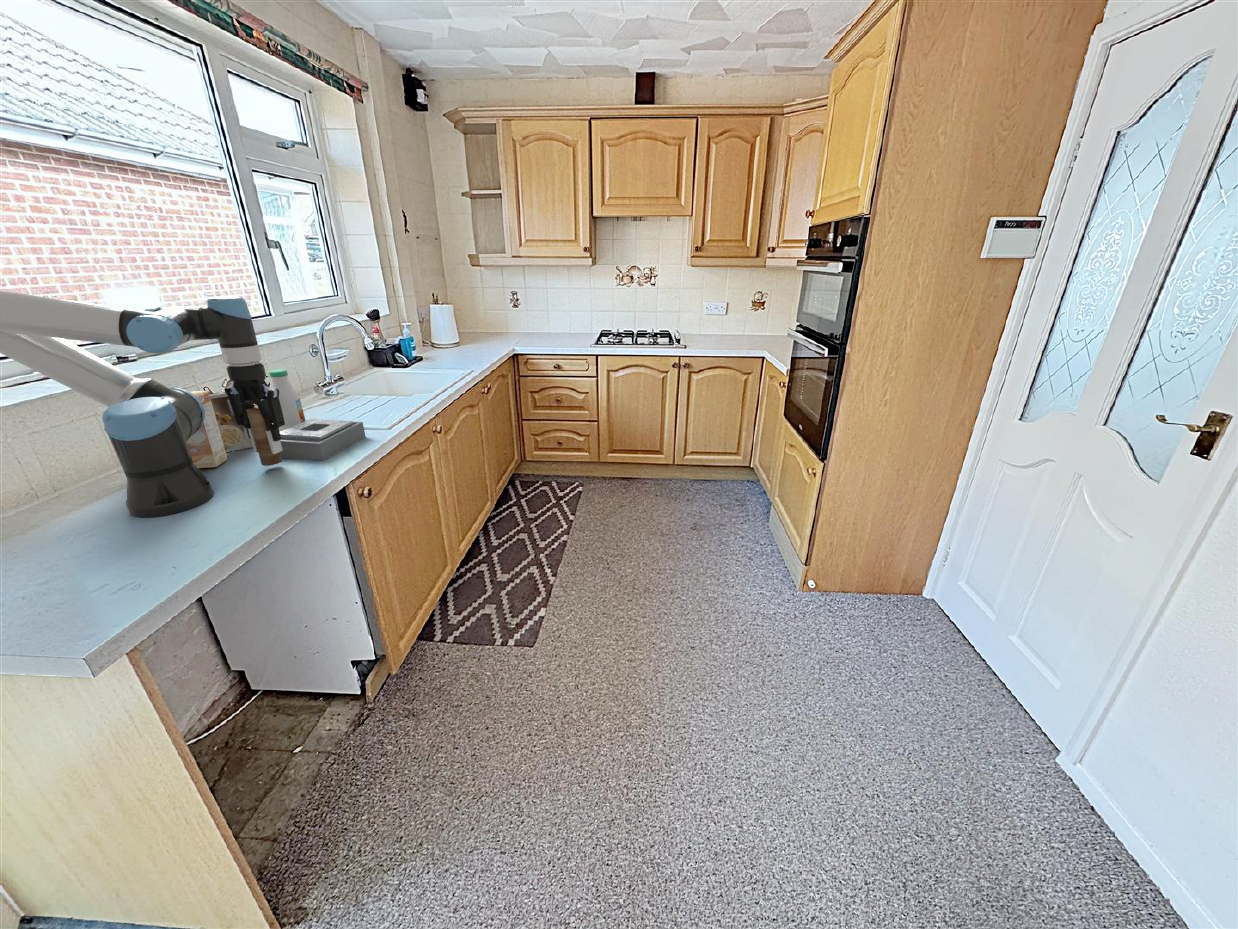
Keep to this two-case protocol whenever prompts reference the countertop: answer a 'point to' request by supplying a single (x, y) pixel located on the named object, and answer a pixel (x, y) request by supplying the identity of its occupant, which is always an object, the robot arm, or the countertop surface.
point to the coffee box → (229, 424)
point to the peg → (262, 437)
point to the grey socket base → (323, 444)
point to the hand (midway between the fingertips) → (268, 451)
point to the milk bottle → (287, 399)
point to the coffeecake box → (207, 437)
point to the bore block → (314, 430)
